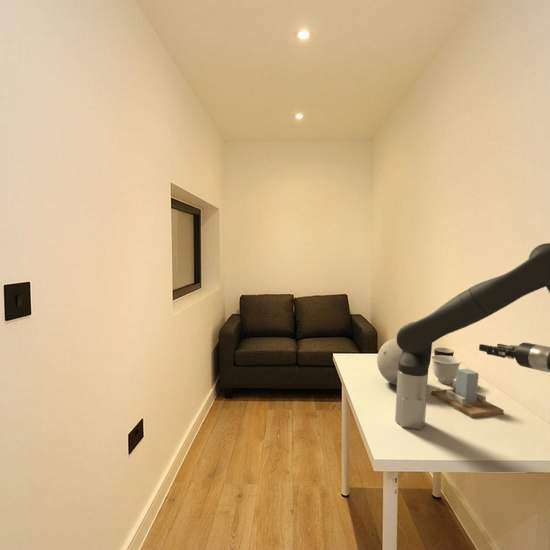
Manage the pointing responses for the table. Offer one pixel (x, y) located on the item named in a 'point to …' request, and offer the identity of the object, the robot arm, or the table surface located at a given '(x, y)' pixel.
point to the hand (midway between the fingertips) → (488, 347)
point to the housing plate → (469, 409)
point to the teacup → (445, 368)
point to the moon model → (389, 360)
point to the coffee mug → (443, 351)
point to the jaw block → (467, 384)
